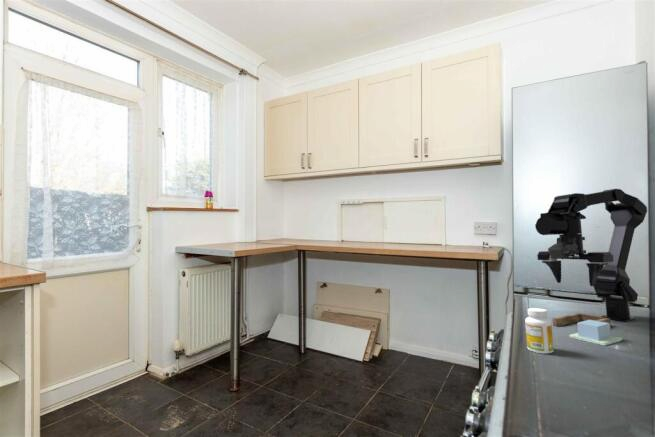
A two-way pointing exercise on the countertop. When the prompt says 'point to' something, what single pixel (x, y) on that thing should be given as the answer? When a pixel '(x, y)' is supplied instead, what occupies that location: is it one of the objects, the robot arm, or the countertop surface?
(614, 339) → the mat
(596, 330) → the block
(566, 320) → the u-shaped frame
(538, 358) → the countertop surface
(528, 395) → the countertop surface
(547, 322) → the supplement bottle
